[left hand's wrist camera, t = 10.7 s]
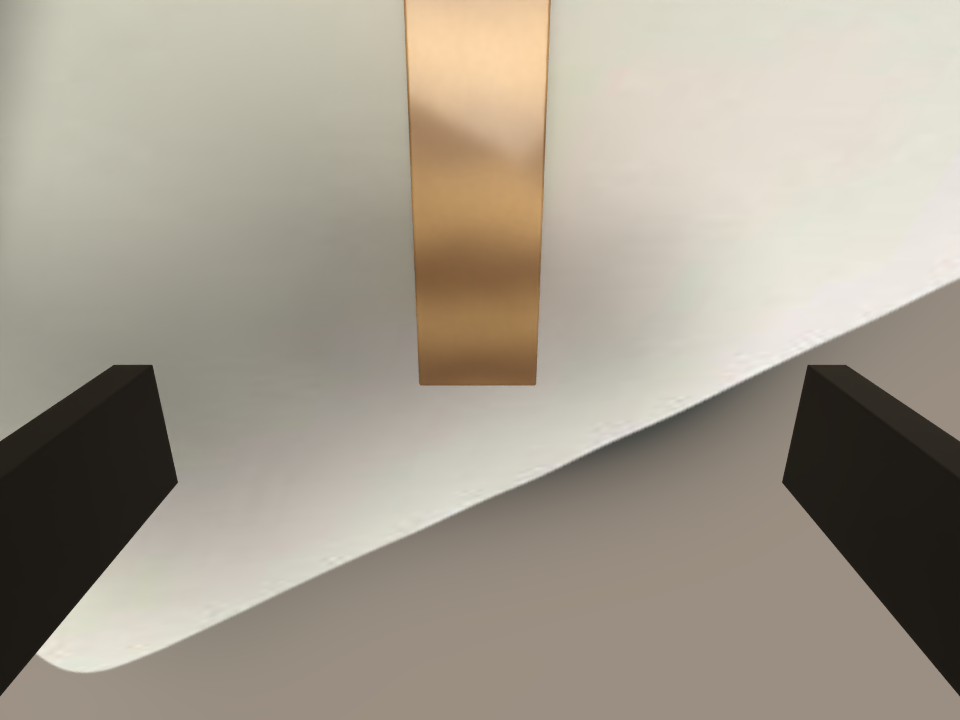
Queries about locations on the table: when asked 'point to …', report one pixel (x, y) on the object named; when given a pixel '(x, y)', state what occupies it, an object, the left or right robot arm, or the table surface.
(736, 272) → the table surface
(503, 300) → the bar
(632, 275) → the table surface
